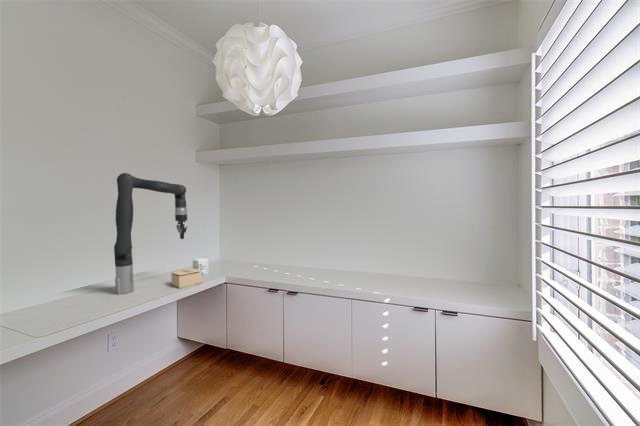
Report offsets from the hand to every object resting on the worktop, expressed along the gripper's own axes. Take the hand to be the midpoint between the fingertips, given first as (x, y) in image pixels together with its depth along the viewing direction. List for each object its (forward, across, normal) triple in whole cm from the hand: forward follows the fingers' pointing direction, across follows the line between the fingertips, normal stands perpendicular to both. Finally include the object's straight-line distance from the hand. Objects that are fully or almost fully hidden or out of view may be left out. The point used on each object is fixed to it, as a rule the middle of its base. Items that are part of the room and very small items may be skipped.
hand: (182, 238), depth 203 cm
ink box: (+31, -15, +19) cm, 40 cm away
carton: (+31, +5, 0) cm, 31 cm away
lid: (+23, +5, 0) cm, 23 cm away
